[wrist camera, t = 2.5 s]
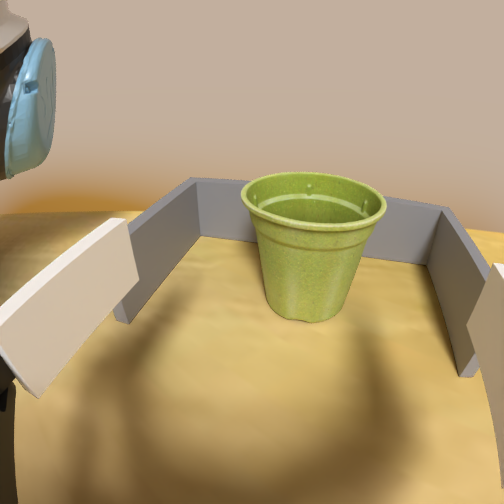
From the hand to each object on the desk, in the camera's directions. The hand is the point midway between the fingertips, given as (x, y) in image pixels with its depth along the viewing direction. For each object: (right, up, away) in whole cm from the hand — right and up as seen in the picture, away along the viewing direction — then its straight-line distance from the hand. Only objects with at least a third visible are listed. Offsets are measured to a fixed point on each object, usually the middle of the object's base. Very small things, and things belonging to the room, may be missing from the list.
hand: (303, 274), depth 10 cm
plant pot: (+2, -3, +14) cm, 15 cm away
